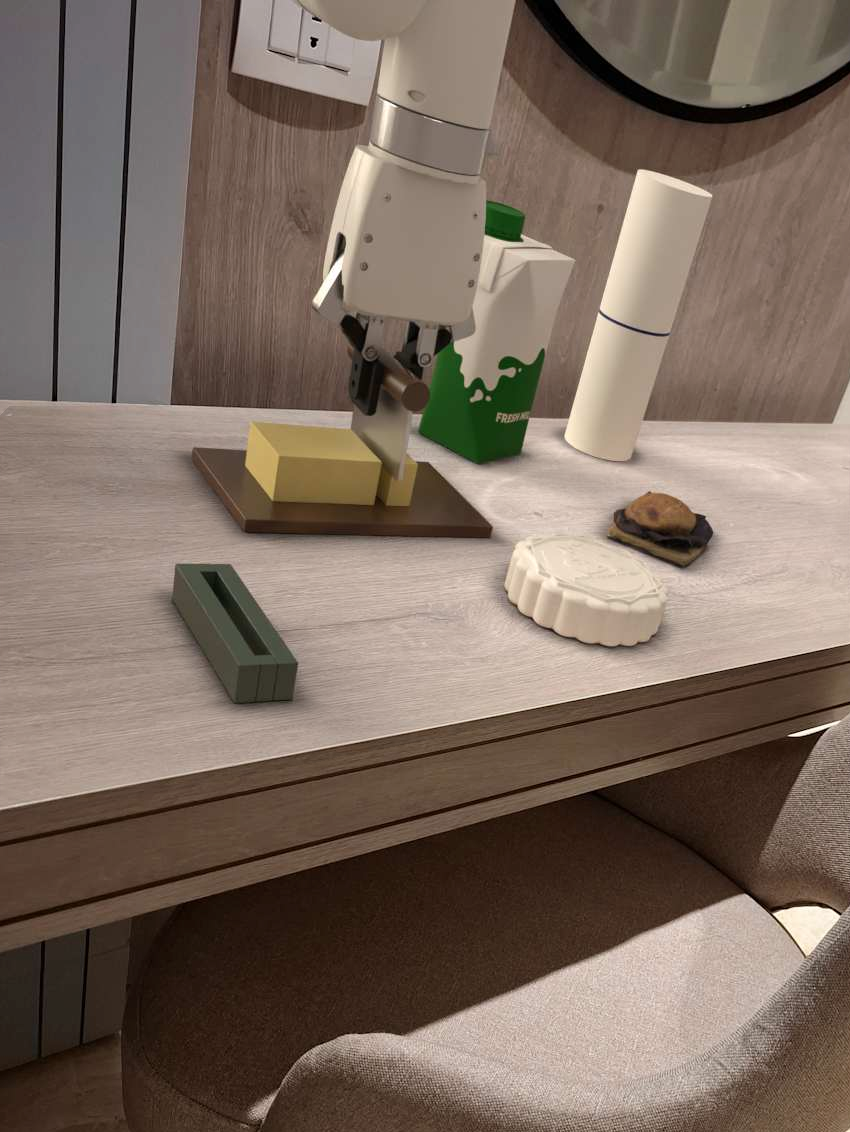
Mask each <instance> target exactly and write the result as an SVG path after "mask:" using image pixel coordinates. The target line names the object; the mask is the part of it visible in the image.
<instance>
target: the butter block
mask: <svg viewBox="0 0 850 1132" xmlns="http://www.w3.org/2000/svg"><path fill="white" fill-rule="evenodd" d="M249 424H250V425H249V430H248V439H247V447H246V450H247V454H246V462H245V466H246V468H247V469H248V470H249V471H250V473H251V474H252V475H253V477H254V478H255V479H256V480H257V482H258V483H259V484H260V485H261V487H262V488H263V489H264V491H265V492H266V493H267V494H268V496H269V497H270V498H271V500H272V501H278V502H304V503H331V504H357V505H374V502H375V496H376V491H377V486H378V481H379V475H380V470H381V465H382V462H381V461H380V460H379V459H378V457H377V456H376V455H375V454H374V453H373V452H372V451H371V450H370V449H369V448H368V447H367V446H366V445H365V444H364V443H363V442H362V441H361V439H360V438H359V437H358V436H357V435H356V434H355V433H354V432H353V431H352V430H351V428H342V427H341V428H340V427H329V426H328V427H326V426H315V425H301V424H288V423H276V422H263V421H250V422H249Z"/></svg>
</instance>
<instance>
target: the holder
mask: <svg viewBox="0 0 850 1132" xmlns="http://www.w3.org/2000/svg"><path fill="white" fill-rule="evenodd" d="M174 566H175V567H174V576H173V586H172V597H171V599H172V602H173V603H174V605H175V607H176V609H177V610H178V612H179V613H180V615H181V617H182V618H183V620H184V622H185V623H186V625H187V627H188V628H189V630H190V632H191V634H192V635H193V637H194V639H195V640H196V642H197V643H198V645H199V646H200V649H201V650H202V651H203V653H204V655H205V656H206V658H207V660H208V662H209V664H210V665H211V666H212V668H213V670H214V671H215V674H216V675H217V676H218V678H219V680H220V681H221V683H222V685H223V686H224V688H225V690H226V692H227V693H228V695H229V697H230V698H231V699H232V701H233V703H234V704H245V703H255V702H257V703H258V702H272V701H273V702H274V701H291V700H293V699H294V693H295V687H296V680H297V675H298V668H299V661H298V660H297V659H296V657H295V656H294V654H293V653H292V651H291V650H290V648H289V647H288V646H287V644H286V642H285V641H284V640H283V638H282V637H281V635H280V634H279V632H278V631H277V630H276V627H274V625H273V624H272V623H271V621H270V619H269V618H268V616H267V614H266V613H265V612H264V610H263V609H262V607H261V606H260V605H259V604H258V602H257V600H256V599H255V597H254V596H253V594H252V593H251V591H250V590H249V589H248V586H246V584H245V583H244V581H243V580H242V578H241V577H240V575H239V574H238V572H237V571H236V570H235V568H234V567H233V566H232V564H231V563H182V562H181V563H180V562H179V563H175V565H174Z"/></svg>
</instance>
